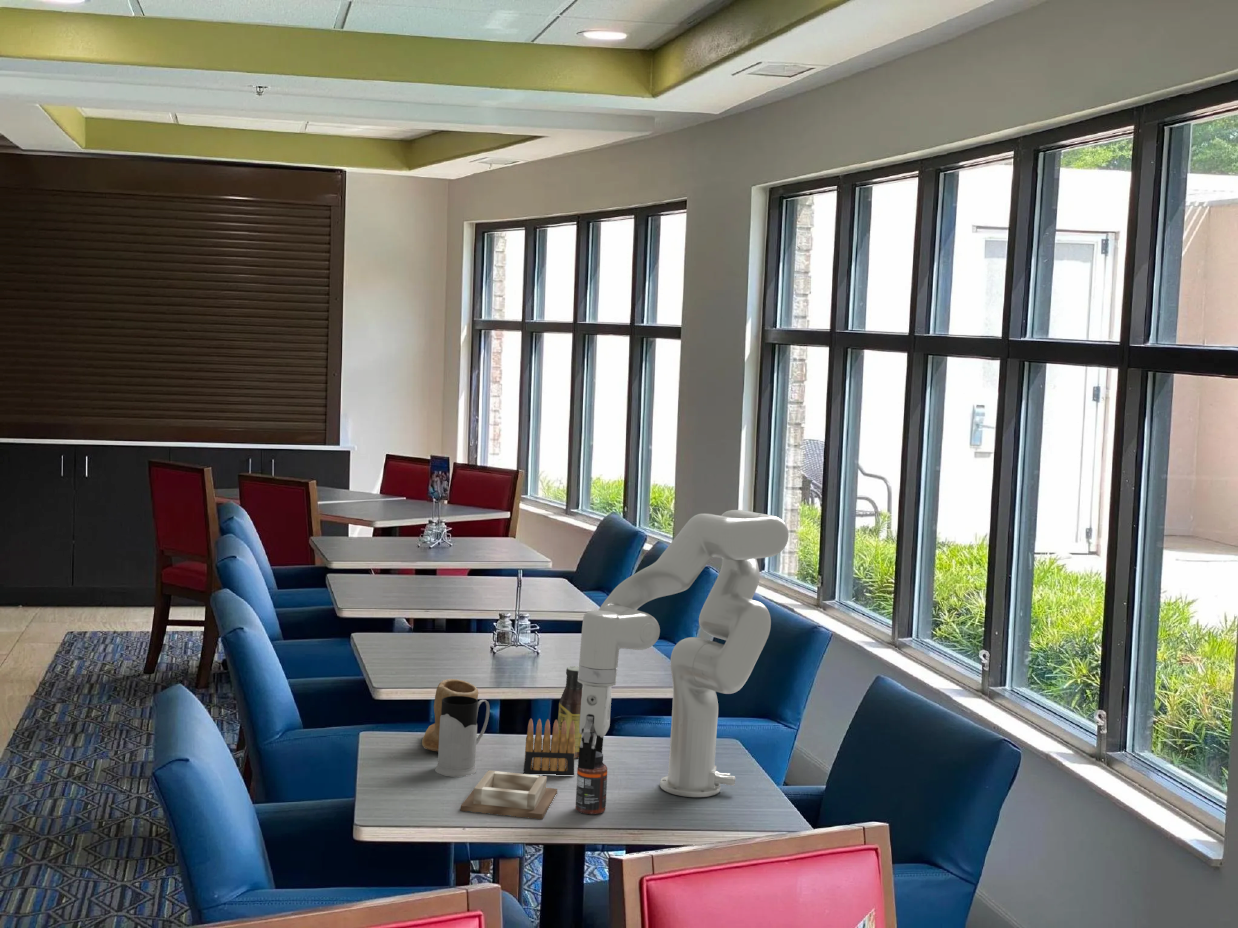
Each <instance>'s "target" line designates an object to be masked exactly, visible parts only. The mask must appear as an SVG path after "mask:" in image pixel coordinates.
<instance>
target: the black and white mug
mask: <svg viewBox="0 0 1238 928" xmlns="http://www.w3.org/2000/svg"><path fill="white" fill-rule="evenodd" d="M483 702H484V703H485V706H486V711H485V717H484V723H483V726H482V728H481V731H480V733H479V735H478V723H477V721H478V712H479V707H480V706H481V704H482V703H483ZM490 710H491V709H490V703H489V701H487V700H486V699H480V700H479V701H478V699H475V698H472V697H466V696H450V697H445V698H443V699H442V708H441V716H440V730H439V749H438V751H437V753H438V754H437V764H436V767H435V772H436V773H437V774H439V775H440V776H441V775H442V776H446V777H453V778H454V777H457V778H459V777H460V778H462V777H461V776H463V777H467V776H466V775H470V776H472V775H471V774H473V775H475V774H476V773H477V772H478V769H477V766H476V758H477V757H476V756H477V745H478V744H479V742H480V741H481V739H482V737H483V735H484V734H485V731H486V729H487V725H488V722H489V717H490ZM477 735H478V736H477ZM475 772H476V773H475ZM474 773H475V774H474Z"/></svg>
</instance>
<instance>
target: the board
mask: <svg viewBox="0 0 1238 928" xmlns="http://www.w3.org/2000/svg"><path fill="white" fill-rule="evenodd" d="M547 780H548V776H540V775H530V774H523V773H518V772H509V771H498V770H487V772H485V774H484V775H483V777H482V778H481V779H480V781H478V783H477V784H476V785H475V787H474V788H473V789H472V790H471V792H470V793H469V795H468V796H467V797H466V798H465V799H464V801H463V802H462V803H461V805H460V812H467V811H472V812H471V813H476V812H482V813H481V814H486V813H490V815H496V814H498V816H505V815H511V816H510V817H515V816H516V817H517V818H524V817H526V819H534V818H536V819H537V820H543V819H544V818H545V816H546V815H547V813H548V811H547V810H549V809H550V807H551V805H552V804H553V802H554V800H555V798H556V797H555V795H556V794H557V795H558V788H554V787H553V788H552V787H547ZM557 795H556V796H557ZM554 797H555V798H554ZM553 799H554V800H553ZM552 801H553V802H552ZM551 803H552V804H551ZM550 804H551V805H550ZM549 806H550V807H549ZM548 808H549V809H548ZM528 817H529V818H528Z"/></svg>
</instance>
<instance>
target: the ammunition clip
mask: <svg viewBox="0 0 1238 928" xmlns="http://www.w3.org/2000/svg"><path fill="white" fill-rule="evenodd" d="M536 723H537V724H536V727H535V735H534V722H533V719H532V718H530V719H529V720H528V725H527V732H526V738H525V749H524V762H523V771H524V774H556V775H574V776H575V758H574V756H575V725H574V721H573V720H572V722H571V724H570V729H569V737H568V743H567V727H566V721H565V720H564V721H563V723H562V727H561V735H560V740H559V738H558V719H555V720H554V723H553V725H552V726H553V727H552V735H551V724H550V723H551V722H550V720H549V718H547V719H546V721H545V725H544V731H543V733H542V730H543V727H542V726H543V725H542V720H541V718H538V720H537V722H536ZM542 734H543V735H542ZM542 736H543V737H542ZM558 747H559V751H558Z"/></svg>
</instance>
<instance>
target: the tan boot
mask: <svg viewBox="0 0 1238 928" xmlns="http://www.w3.org/2000/svg"><path fill="white" fill-rule="evenodd" d="M450 696H466V697H472V698H475V699H477V700H478V698H479V697H478V696H479V690H478V688H477V687H476V686H475V685H474V684H472V683H471V682H468V681H466V680H462V679H457V678H446V679H444V680H442V681H440V682H439V684H438V685H437V687H436V690H435V695H434V701H433V712H434V723H432V724H431V725H429V726H428V728H427V729H426V730H425V732H424V735H423V737H422V740H421V745H422V747H423V748H424V749H425V750H429V751H433V752H438V749H439V730H440V716H441V708H442V699H443V698H445V697H450Z"/></svg>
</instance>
